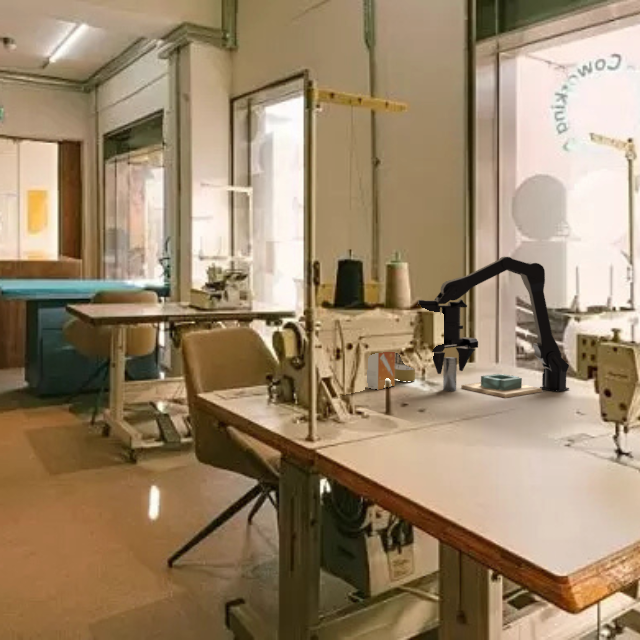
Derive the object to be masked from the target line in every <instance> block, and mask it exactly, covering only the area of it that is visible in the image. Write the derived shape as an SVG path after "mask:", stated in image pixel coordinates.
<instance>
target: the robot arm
mask: <svg viewBox="0 0 640 640" xmlns="http://www.w3.org/2000/svg"><path fill="white" fill-rule="evenodd" d="M506 271H508V272H511V273H514V274H517V275H518V276H520V278H521V281H522V282H523V285H524V287H525V288H526V290H527V293H528V295H529V300H530V305H531V309H532V315H533V321H534V325H535V331H536V334H537V337H536V338H537V340H536V342H533V343H532V347H533V350H534V357H536V358H537V360H538V361H539V362H541V364H542V367H543V370H542V371H543V373H542V376H541V378H542V379H541V381H542V382H541V386H540V387H539V388H542V390H546V391H549V392H550V391H551V392H560V391H561V392H562V391H568V390H570V387H568V386H567V372H568V371H569V368H570V364H568V362H567V361H565V360H564V359H563V358H562V353H561V350H560V348H559V345H558V343H557V342H556V340H555V338H554V335H553V332H552V327H551V323H550V317H549V312H548V308H547V302H546V298H545V297H546V296H545V293H544V291H545V284H546V278H545V277H546V273H545V268H544V266H543V265H541V264H540V263H538V262H525V261H521V260H517V259H514V258H512V257H510V256H502V257H499V259H497V260H495V261H494V262H491V263H489V264H487V265H485V266H483V267H482V268H479V269H478V270H475V271H473V272H471V273H469V274H467V275H464V276H461V277H456V278H453V279H450V280H449V279H448V280H447V281H445V282H443V283H442V284H441V286H440V291H439V292H438V294H437V296H436V297H435V298H434V300H426V299H425V300H424V299H418V300H417V305H418V304H419V305H421V307H422V308H425V309H427V310H429V311H434V312H440V313H443V314H444V344H442V345H438V346H436V347H435V348H434V349H433V351H432V352H434V356H433V359H432V361H433V364H434V367H435V370H436V372H437V374H438V375H441V374H442V373H443V372H442V371H443V364H444V357H446V356H445V355H446V352H444V350H445V349H450V348H455V349H456V352H457V354H458V369H459V372H463V371H464V368H465V367H466V365H467V364H468V361H469V359H470V357H471V355H472V354H473V353H474V352H475V351H476V348H479V341H478V339H477V338H475V337H467V336H463V337H461V330H463V329H464V325H462V324H461V308H468V304H466V303H465V302H464V300H463V299H461V298H462V297H464V295H466V294H467V293H468V292H469V291H470V290H471V289H473V288H474V287H476V286H479V284H481V283H484V282H486V281H488V280H490V279H492V278H494V277H495V276H498V275H500V274H502V273H504V272H506ZM457 300H458V301H457Z"/></svg>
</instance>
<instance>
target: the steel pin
mask: <svg viewBox="0 0 640 640" xmlns="http://www.w3.org/2000/svg"><path fill="white" fill-rule="evenodd" d="M457 362H458V358H457V357H454V356H444V361H443V367H442V371H443V372H442V374H443V377H442V381H443V382H442V385H443V386H442V390H443V391H445V392H456V391H457V374H458V373H457V372H458V369H457V368H458V366H457V364H458V363H457Z"/></svg>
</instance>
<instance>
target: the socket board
mask: <svg viewBox="0 0 640 640" xmlns="http://www.w3.org/2000/svg"><path fill="white" fill-rule="evenodd" d="M522 381H523V378H522V377H520V376H517V375H516V376H515V375H510V374H505V373H504V374H502V373H493V374H486V375H481V376H480V382H474V383H467V384H461V389H464V390H468V391H473V392H478V393H482V394H487V395H492V396H496V397H500V398H505V399H507V398H511V397H517V396H522V395H531V394H535V393H541V392H543V391H542V390H543V389H542V388H540V387H536V386H531V385H526V384H523V383H522Z"/></svg>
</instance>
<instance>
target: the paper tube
mask: <svg viewBox="0 0 640 640" xmlns="http://www.w3.org/2000/svg"><path fill="white" fill-rule="evenodd" d="M395 379H398V380H400V381H406V382H405V383H409V382H408V381H412V382H415V380H416V368H415V369H413V368H411V367H409V366H407V365H405V364H404V363H403V361H402V359H401V357H400V355H399V354H398V353H395Z"/></svg>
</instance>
